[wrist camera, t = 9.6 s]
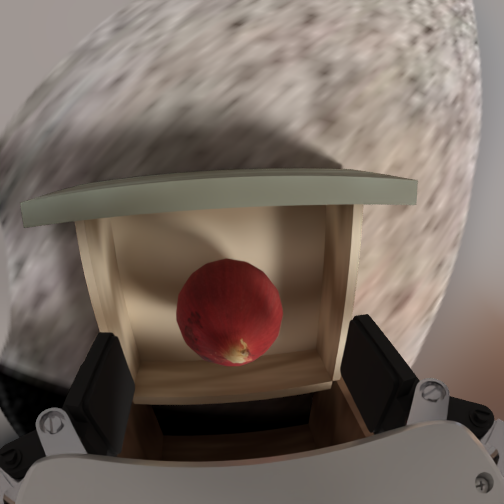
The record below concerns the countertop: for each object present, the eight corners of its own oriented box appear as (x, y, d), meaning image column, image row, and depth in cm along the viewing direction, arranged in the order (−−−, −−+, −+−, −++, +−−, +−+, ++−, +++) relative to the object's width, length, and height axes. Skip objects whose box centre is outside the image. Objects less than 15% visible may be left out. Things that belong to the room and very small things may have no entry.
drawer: (82, 184, 17) (20, 202, 10) (351, 169, 19) (417, 180, 12) (120, 360, 22) (97, 426, 15) (336, 345, 24) (372, 404, 17)
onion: (219, 333, 21) (224, 418, 13) (165, 277, 19) (139, 353, 11) (285, 288, 20) (322, 363, 13) (234, 223, 18) (249, 276, 11)
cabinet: (123, 362, 22) (84, 495, 10) (333, 347, 24) (403, 467, 12) (155, 442, 26) (147, 543, 14) (317, 428, 28) (354, 523, 16)
